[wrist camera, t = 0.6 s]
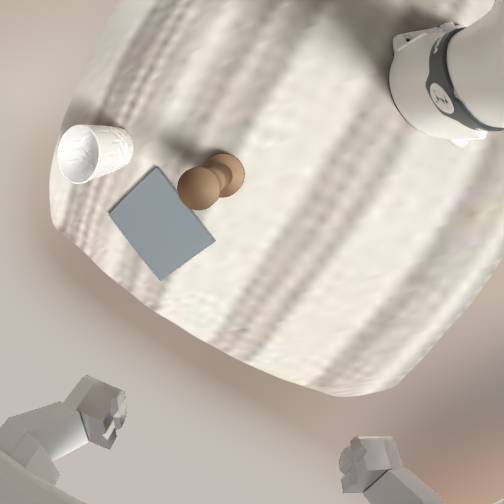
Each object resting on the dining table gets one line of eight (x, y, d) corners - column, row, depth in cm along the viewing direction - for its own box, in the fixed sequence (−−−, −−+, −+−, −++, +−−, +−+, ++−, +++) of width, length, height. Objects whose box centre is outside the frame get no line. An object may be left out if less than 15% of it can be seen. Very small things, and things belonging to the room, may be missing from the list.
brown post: (227, 144, 38) (202, 147, 27) (253, 179, 40) (238, 195, 28) (194, 170, 40) (159, 184, 29) (219, 203, 41) (193, 228, 30)
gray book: (158, 166, 40) (156, 167, 40) (215, 240, 44) (214, 242, 43) (111, 213, 44) (108, 214, 43) (162, 278, 47) (160, 280, 47)
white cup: (136, 119, 38) (97, 118, 29) (139, 170, 41) (102, 180, 32) (95, 128, 39) (55, 131, 30) (99, 175, 42) (60, 187, 33)
